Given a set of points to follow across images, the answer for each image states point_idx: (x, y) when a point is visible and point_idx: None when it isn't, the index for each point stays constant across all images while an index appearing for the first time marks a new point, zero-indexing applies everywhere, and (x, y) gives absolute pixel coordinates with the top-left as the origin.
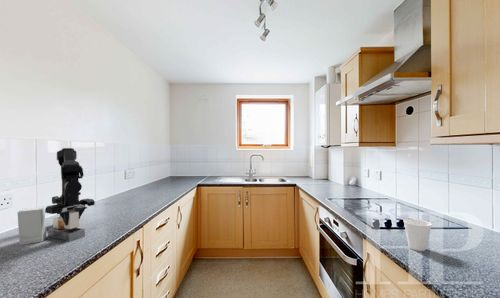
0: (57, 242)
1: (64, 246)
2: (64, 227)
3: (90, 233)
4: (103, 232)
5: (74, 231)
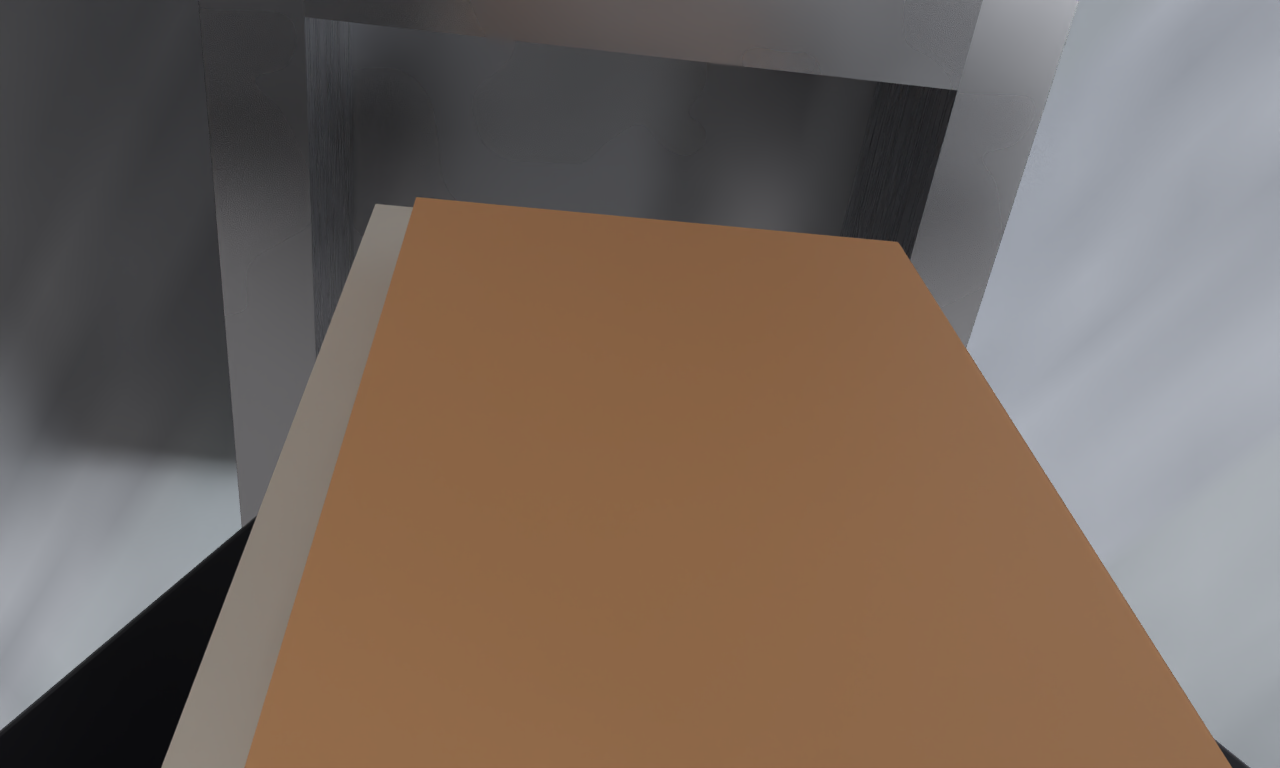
0: (68, 213)
1: (42, 666)
2: (368, 231)
3: (1068, 437)
4: (1177, 670)
5: (887, 93)
